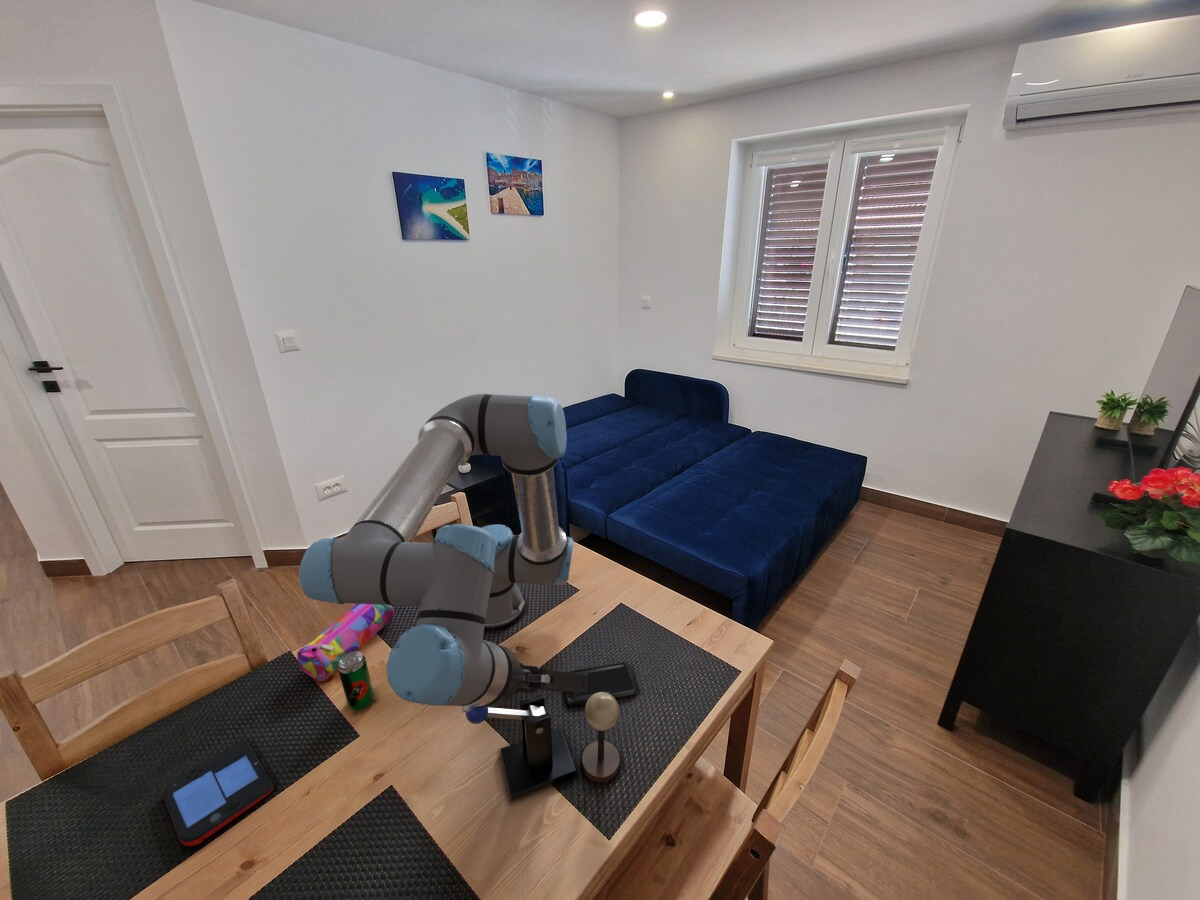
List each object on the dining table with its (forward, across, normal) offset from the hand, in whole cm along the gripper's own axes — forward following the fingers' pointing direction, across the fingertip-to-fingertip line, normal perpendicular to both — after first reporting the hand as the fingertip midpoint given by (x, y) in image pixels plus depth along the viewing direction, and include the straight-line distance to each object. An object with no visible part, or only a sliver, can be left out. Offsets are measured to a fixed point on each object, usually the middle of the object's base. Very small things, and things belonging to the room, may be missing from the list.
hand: (540, 683), depth 80 cm
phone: (+31, +2, +1) cm, 31 cm away
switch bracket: (+18, -5, -13) cm, 22 cm away
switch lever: (+4, -8, -6) cm, 11 cm away
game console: (+1, -57, -20) cm, 61 cm away
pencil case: (+22, -56, +6) cm, 60 cm away
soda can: (+16, -45, -5) cm, 48 cm away
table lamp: (+21, +6, -12) cm, 25 cm away
